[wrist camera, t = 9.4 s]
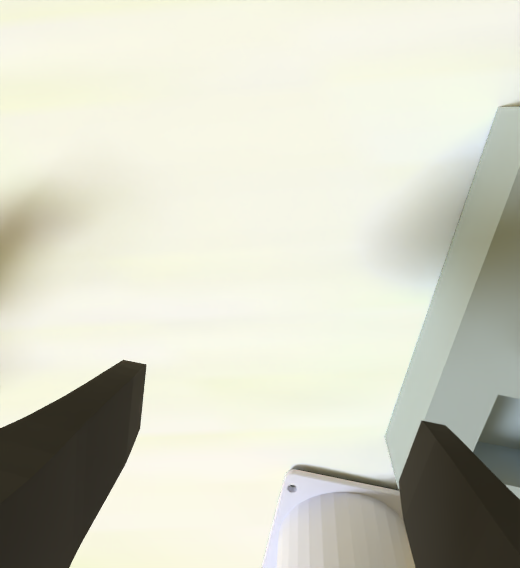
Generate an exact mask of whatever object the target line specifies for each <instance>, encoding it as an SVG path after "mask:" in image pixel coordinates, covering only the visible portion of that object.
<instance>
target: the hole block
mask: <svg viewBox="0 0 520 568" xmlns="http://www.w3.org/2000/svg"><path fill="white" fill-rule="evenodd" d="M421 420H423V421H427V422H432V423H437V424H442V425H446V426H447V427H448V428H449V429H450V430H451V431H452V432H453V433H454V434H455V435H456V436H457V437H458V438H459V439H460V440H461V441H462V442H463V443H464V444H465V445H466V446H467V447H468V448H469V449H470V450H471V451H472V452H473V453H474V454H475V455H476V456H477V457H478V458H479V459H480V460H481V461H482V462H483V463H484V464H485V465H486V466H487V467H488V468H489V469H490V470H491V471H492V472H493V473H494V474H495V475H496V476H497V477H498V478H499V480H500V481H501V482H502V483H503V484H504V485H506V486H507V487H508V488H509V489H510V490H511V491H512V492H513V493H514V494H515V495H516V496H517V497H518V498H519V499H520V106H519V107H498V109H497V112H496V115H495V118H494V121H493V124H492V127H491V130H490V133H489V135H488V138H487V141H486V144H485V147H484V150H483V153H482V156H481V159H480V162H479V164H478V167H477V170H476V173H475V176H474V179H473V182H472V185H471V188H470V191H469V193H468V196H467V199H466V202H465V205H464V208H463V211H462V214H461V217H460V220H459V223H458V225H457V228H456V231H455V234H454V237H453V240H452V243H451V246H450V249H449V252H448V254H447V257H446V260H445V263H444V266H443V269H442V272H441V275H440V278H439V281H438V283H437V286H436V289H435V292H434V295H433V298H432V301H431V304H430V307H429V310H428V313H427V315H426V318H425V321H424V324H423V327H422V330H421V333H420V336H419V339H418V342H417V344H416V347H415V350H414V353H413V356H412V359H411V362H410V365H409V368H408V371H407V373H406V376H405V379H404V382H403V385H402V388H401V391H400V394H399V397H398V400H397V403H396V405H395V408H394V411H393V414H392V417H391V420H390V423H389V426H388V429H387V432H386V434H385V440H386V444H387V447H388V451H389V455H390V459H391V463H392V467H393V471H394V475H395V479H396V483H397V487H398V489H399V479H400V476H401V474H402V471H403V468H404V466H405V463H406V460H407V458H408V455H409V452H410V450H411V447H412V444H413V442H414V439H415V436H416V434H417V431H418V428H419V426H420V423H421Z"/></svg>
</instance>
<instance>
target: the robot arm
mask: <svg viewBox="0 0 520 568" xmlns="http://www.w3.org/2000/svg"><path fill="white" fill-rule="evenodd" d="M145 374H146V364H141V363H136V362H131V361H126V360H123V361H121V362H119V363H118V364H116V365H114V366H113V367H111V368H110V369H108V370H106V371H105V372H103V373H102V374H100V375H98V376H97V377H95V378H94V379H92V380H90V381H89V382H87V383H86V384H84V385H82V386H81V387H79V388H77V389H76V390H74V391H72V392H71V393H69V394H67V395H66V396H64V397H62V398H60V399H58V400H56V401H55V402H53V403H51V404H49V405H47V406H45V407H43V408H42V409H40V410H38V411H36V412H34V413H32V414H30V415H28V416H26V417H24V418H22V419H20V420H18V421H16V422H14V423H11V424H9V425H7V426H5V427H2V428H0V568H69V567H70V565H71V562H72V560H73V558H74V556H75V554H76V552H77V550H78V549H79V547H80V545H81V543H82V541H83V539H84V537H85V535H86V534H87V532H88V530H89V528H90V527H91V525H92V523H93V521H94V519H95V518H96V516H97V514H98V512H99V511H100V509H101V507H102V505H103V503H104V502H105V500H106V498H107V496H108V495H109V493H110V491H111V489H112V487H113V486H114V484H115V482H116V480H117V478H118V477H119V475H120V473H121V471H122V469H123V467H124V466H125V464H126V462H127V459H128V457H129V454H130V452H131V450H132V447H133V445H134V442H135V440H136V437H137V435H138V432H139V430H140V423H141V413H142V403H143V393H144V384H145ZM289 485H294V486H295V487H290V486H289ZM399 490H400V491H398V490H393V489H388V488H384V487H379V486H374V485H369V484H364V483H359V482H354V481H349V480H345V479H340V478H335V477H330V476H325V475H320V474H315V473H310V472H306V471H301V470H295V469H292V470H289V471H287V472H286V474H285V477H284V481H283V484H282V488H281V492H280V496H279V500H278V504H277V508H276V512H275V516H274V520H273V524H272V528H271V531H270V535H269V539H268V543H267V547H266V551H265V555H264V559H263V563H262V567H261V568H520V499H519V498H518V497H517V496H516V495H515V494H514V493H513V492H512V491H511V490H510V489H509V488H508V487H507V486H506V485H504V484H503V483H502V482H501V481H500V480H499V478H498V477H497V476H496V475H495V474H494V473H493V472H492V471H491V470H490V469H489V468H488V467H487V466H486V465H485V464H484V463H483V462H482V461H481V460H480V459H479V458H478V457H477V456H476V455H475V454H474V453H473V452H472V451H471V450H470V449H469V448H468V447H467V446H466V445H465V444H464V443H463V442H462V441H461V440H460V439H459V438H458V437H457V436H456V435H455V434H454V433H453V432H452V431H451V430H450V429H449V428H448V427H447V426H446V425H442V424H437V423H432V422H427V421H423V420H421V423H420V426H419V428H418V431H417V434H416V436H415V439H414V442H413V444H412V447H411V450H410V452H409V455H408V458H407V460H406V463H405V466H404V468H403V471H402V474H401V476H400V479H399Z"/></svg>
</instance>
